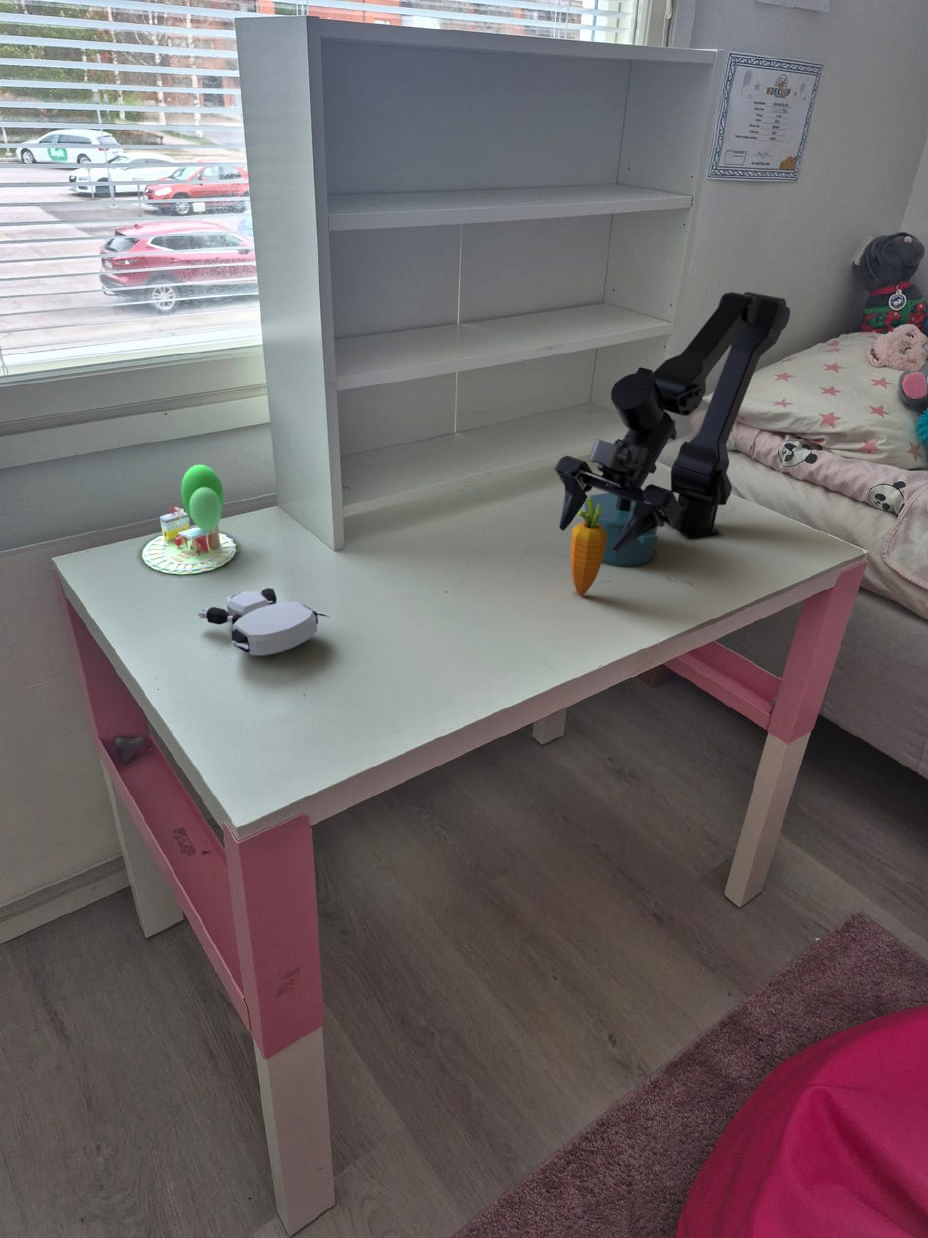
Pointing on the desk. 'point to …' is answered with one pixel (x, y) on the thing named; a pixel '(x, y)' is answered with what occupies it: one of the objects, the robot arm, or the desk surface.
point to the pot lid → (613, 509)
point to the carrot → (587, 549)
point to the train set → (197, 545)
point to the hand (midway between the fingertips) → (587, 539)
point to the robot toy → (265, 622)
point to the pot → (627, 547)
